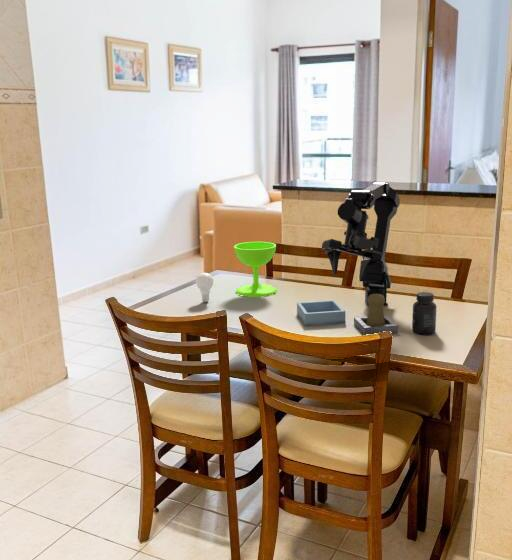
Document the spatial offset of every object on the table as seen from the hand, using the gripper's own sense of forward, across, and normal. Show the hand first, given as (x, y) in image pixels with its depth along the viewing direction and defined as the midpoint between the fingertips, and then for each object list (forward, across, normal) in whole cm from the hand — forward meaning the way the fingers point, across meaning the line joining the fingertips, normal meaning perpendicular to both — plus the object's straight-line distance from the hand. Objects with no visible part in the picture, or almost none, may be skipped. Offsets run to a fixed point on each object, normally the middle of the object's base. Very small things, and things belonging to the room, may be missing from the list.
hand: (347, 278), depth 189 cm
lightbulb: (+13, -30, +49) cm, 59 cm away
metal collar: (+14, +11, -2) cm, 18 cm away
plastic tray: (+13, 0, +14) cm, 19 cm away
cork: (+14, +12, -2) cm, 18 cm away
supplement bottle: (+12, +23, -10) cm, 28 cm away
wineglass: (+4, -9, +54) cm, 55 cm away
